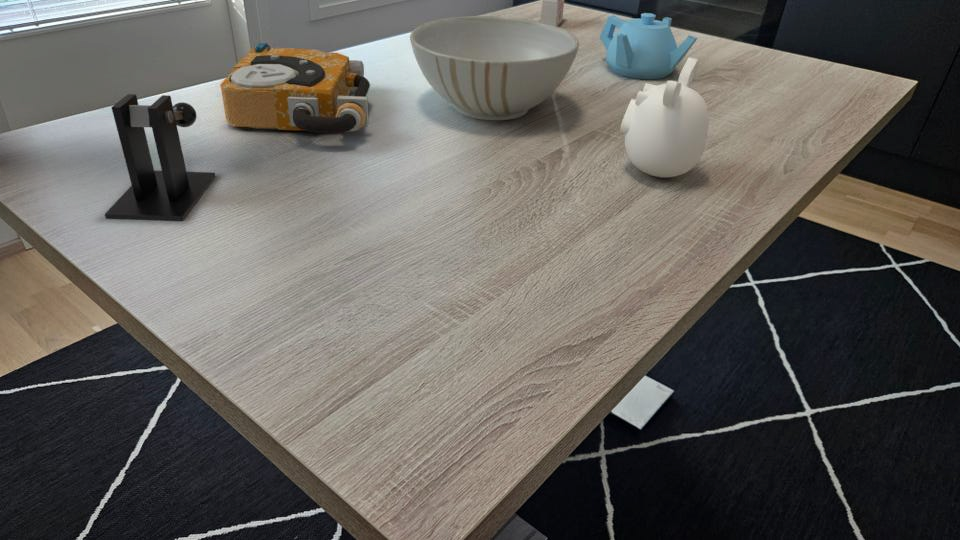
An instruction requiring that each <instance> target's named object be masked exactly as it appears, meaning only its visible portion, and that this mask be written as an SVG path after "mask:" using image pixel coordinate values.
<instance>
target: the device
mask: <svg viewBox="0 0 960 540" xmlns="http://www.w3.org/2000/svg"><path fill="white" fill-rule="evenodd" d="M219 86H220V90H221V91H220V92H221V96H222V97H221V99H222V103H223V109H224V115H225V121H226V123H228V124H229V125H231V126H232V127H238V128H239V127H240V128H250V129H255V130H276V129H277V130H279V131H298V132H299V131H301V132H308V133H315V134H330V135H333V134H343V133H348V132H356V131H358V130H360V129H361V128H368V127H369V101H368V99H369V98H368V96H367V95H368V92H369V90H370V87H371V84H370V81H369V79H368V78H366V77H365V65H364V62H363V61H362V60H357V59H356V60H355V59H354V60H352V59H351V60H350V58H349V56H348V55H345V54H342V53H339V52H327V51H321V50H319V49H313V48H312V49H311V48H309V49H308V48H293V47H292V48H291V47H274V46H273V47H271V46H270V45H269V43H266V42H258V44H257V45H256V46H254V47H252V48H251V49H250V51H248V53H247V54H245V56H244V57H243V58H242V59H241V60H239V61H238V62H237V63H236V64H235V65H234V66H233V70H232V71H230V73H229V74H228V75H227V76H226V77H225V79H224V80H223V81H222V82H221V83H220V85H219ZM352 89H356V90H355V92H354V95H350V94H351V92H352Z"/></svg>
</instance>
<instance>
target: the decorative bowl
mask: <svg viewBox="0 0 960 540" xmlns="http://www.w3.org/2000/svg"><path fill="white" fill-rule="evenodd" d="M409 35H410V36H409V40H410V44H411V49H412V53H413V55H414V59H415V60H416V63H417V65H418V67H419V68H420V69H419V70H420V71H421V73H422V75H423V77H424V78H425V79H426V81H427V82H428V84H429V86H430V87H431V88H432V89H433V91H435V92H436V93H437V94H438V95H439V96H440V97H441V98H442V99H443V100H445V102H447V103H449V104H450V105H452V106H453V107H454V109H455V110H456V111H457V112H458V113H460V114H461V115H463V116H466V117H469V118H472V119H476V120H483V121H507V120H513V119H517V118H521V117H522V116H524V115H526V114H527V113H528V112H529V110H530V109H532V108H534V107H536V106H537V105H539V104H541V103H543V101H545V100H546V99H548V97H550V95H552V94H553V93H554V92H555V91H556V89H557V88H558V87H559V86H560V85H561V84H562V82H563V81H564V79H565V78H566V76H567V74H568V73H569V71H570V69H571V67H572V65H573V63H574V61H575V59H576V56H577V55H578V51H579V49H580V41H579V39H578V38H577V36H576V35H575V34H574V33H572V32H570V31H569V30H567V29H565V28H562V27H560V26H558V27H557V26H554V25H551V24H547V23H543V22H541V21H538V20H533V19H528V18H521V17H511V16H497V15H496V16H495V15H470V16H456V17H455V16H454V17H447V18H441V19H435V20H431V21H428V22H425V23H422V24H420V25H419V26H417V27H415V28H414V29H413V30H412V31H411V32H410V34H409Z"/></svg>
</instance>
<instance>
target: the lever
mask: <svg viewBox="0 0 960 540" xmlns="http://www.w3.org/2000/svg"><path fill="white" fill-rule="evenodd" d="M150 106H151V105H149V104H148V105H145V104H143V105H142V104H138V105H129V110H130V123H131V127H144V128H152V126H151V122H150V117H149V113H148V108H149V107H150ZM173 110H174V115H175V120H176V124H177V127H179V128H189V127H192V126H193V125H194V124H195V123H196V121H197V118H198V117H197V111H196V109H195V108H194V107H193V106H192V105H191V104H190V103H187V102H177V103H175V104H174V105H173Z"/></svg>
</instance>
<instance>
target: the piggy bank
mask: <svg viewBox="0 0 960 540" xmlns="http://www.w3.org/2000/svg"><path fill="white" fill-rule="evenodd" d="M698 64H699V59H698V58H694V57H690V56H689V57H688V58H687V60H686V62H685V63H684V65H683V67H682V69H681V71H680V74H679V76H678V79H677V80H678V81H675V80H667V81H666V83H663V84H658V85H655V84H651V83H647V82H646V83H645V84H644V87H643V90H638V91H637V93H636V97H635V98H632V99H630V101H629V103H628V105H627V108H626V111H625V113H624V115H623V117H622V120H621V123H620V127H619V133H620V134H622V135H624V150H625V153H626V156H627V158H628V160H629V161H630V162H631V163H632V165H633V166H634V167H636V168H637V169H638V170H640V172H643V173H645V174H647V175H649V176H653V177H656V178H675V177H678V176H681V175H684V174H685V173H687V172H689V171H690V170H692V169H693V168H694V167H695V166H696V165H697V164H698V162H699V161H700V159H701V157H702V156H703V154H704V151H705V148H706V144H707V140H708V135H709V134H708V133H709V112H708V107H707V103H706V101H705V100H704V98H703V97H702V95H701V94H700V93H698V92H697V90H694V89H693V88H691V87H690V86H691V84H692V81H693V79H694V76H695V73H696V71H697V68H698Z"/></svg>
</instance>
